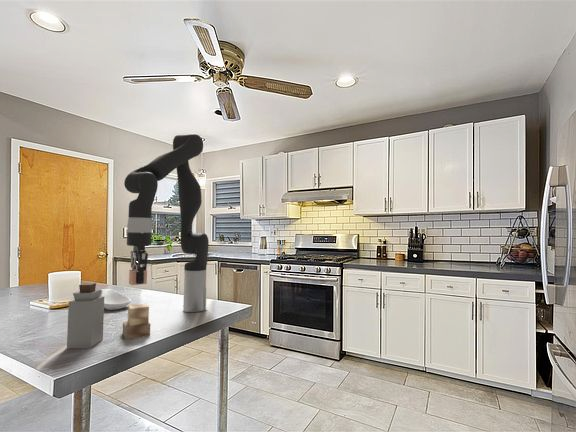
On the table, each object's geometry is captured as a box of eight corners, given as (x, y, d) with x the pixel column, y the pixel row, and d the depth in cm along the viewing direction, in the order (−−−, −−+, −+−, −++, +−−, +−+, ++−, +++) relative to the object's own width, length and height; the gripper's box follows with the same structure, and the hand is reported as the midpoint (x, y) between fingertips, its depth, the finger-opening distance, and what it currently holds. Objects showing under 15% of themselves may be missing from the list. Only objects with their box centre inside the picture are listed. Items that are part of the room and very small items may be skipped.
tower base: (145, 330, 108) (145, 318, 108) (149, 336, 102) (150, 323, 102) (122, 334, 103) (122, 322, 104) (126, 340, 98) (126, 327, 98)
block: (143, 281, 107) (143, 268, 107) (146, 283, 103) (147, 270, 103) (128, 283, 104) (129, 269, 104) (131, 285, 100) (132, 271, 101)
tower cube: (145, 319, 107) (146, 303, 107) (148, 323, 102) (148, 306, 103) (127, 321, 104) (128, 305, 104) (129, 326, 99) (130, 308, 100)
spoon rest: (135, 308, 136) (136, 292, 137) (107, 314, 127) (107, 296, 127) (111, 300, 151) (112, 285, 151) (84, 304, 142) (85, 289, 142)
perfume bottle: (80, 340, 97) (82, 282, 98) (102, 339, 98) (104, 282, 98) (66, 348, 90) (69, 286, 91) (91, 347, 91) (93, 285, 92)
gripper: (123, 231, 108) (121, 280, 107) (131, 231, 96) (130, 287, 96) (146, 231, 112) (144, 278, 112) (157, 231, 101) (155, 284, 100)
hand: (138, 282), depth 104 cm, fingers closed on block, 4 cm apart
